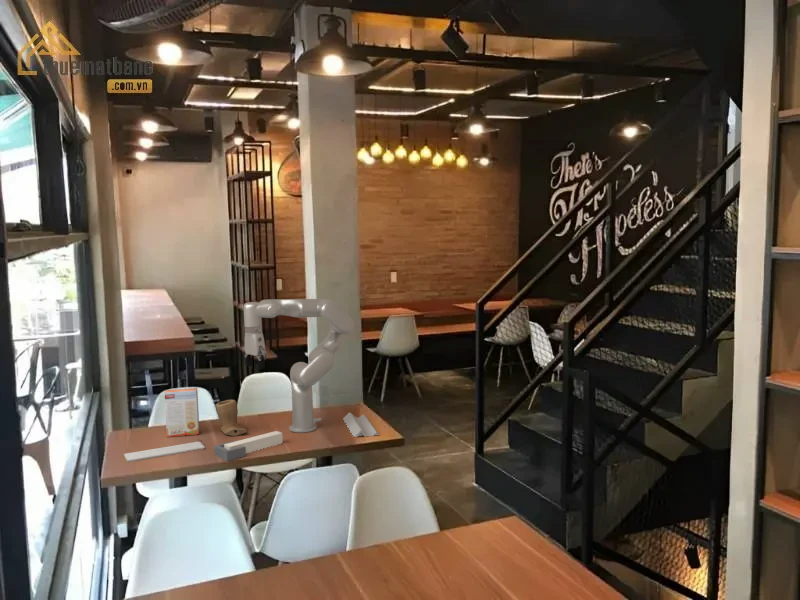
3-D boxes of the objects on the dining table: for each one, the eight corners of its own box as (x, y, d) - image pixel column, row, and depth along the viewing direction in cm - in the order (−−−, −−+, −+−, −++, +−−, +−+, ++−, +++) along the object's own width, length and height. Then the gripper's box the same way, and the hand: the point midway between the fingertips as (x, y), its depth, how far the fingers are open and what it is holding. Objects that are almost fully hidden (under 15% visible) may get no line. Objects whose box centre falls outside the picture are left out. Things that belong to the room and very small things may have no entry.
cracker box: (199, 431, 306) (197, 387, 304) (198, 435, 300) (196, 390, 298) (167, 433, 303) (166, 389, 301) (166, 437, 297) (164, 392, 295)
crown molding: (379, 437, 298) (378, 429, 298) (352, 439, 295) (352, 431, 295) (365, 418, 328) (365, 411, 328) (341, 420, 325) (341, 413, 325)
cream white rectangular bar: (276, 441, 291) (276, 430, 291) (282, 444, 288) (282, 432, 287) (224, 456, 273) (223, 444, 272) (230, 458, 270) (229, 446, 269)
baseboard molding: (122, 455, 275) (127, 464, 265) (122, 448, 275) (127, 457, 265) (198, 442, 291) (205, 450, 281) (197, 436, 291) (204, 443, 281)
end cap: (232, 450, 279) (232, 441, 279) (245, 456, 271) (245, 446, 271) (214, 455, 273) (214, 445, 273) (227, 461, 266) (226, 451, 265)
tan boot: (214, 430, 308) (213, 398, 307) (240, 426, 313) (239, 395, 312) (220, 439, 295) (219, 406, 293) (247, 435, 300) (246, 403, 298)
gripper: (271, 330, 290) (273, 368, 292) (249, 327, 302) (251, 363, 304) (257, 332, 285) (259, 371, 287) (235, 329, 297) (237, 366, 299)
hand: (255, 367), depth 295 cm, fingers open, 9 cm apart
